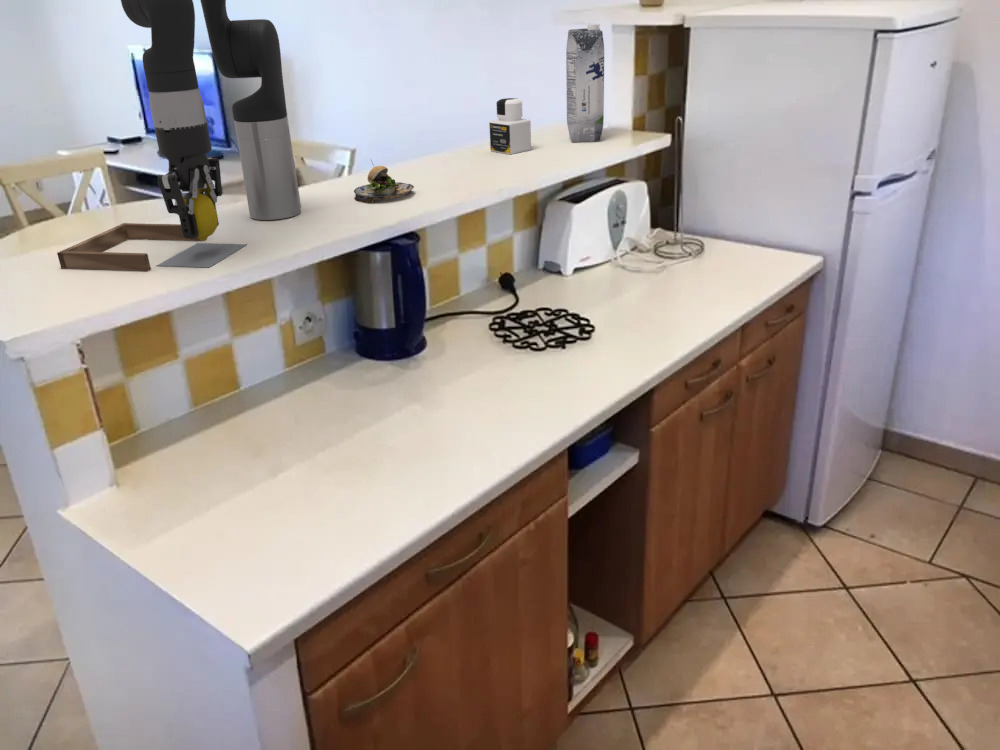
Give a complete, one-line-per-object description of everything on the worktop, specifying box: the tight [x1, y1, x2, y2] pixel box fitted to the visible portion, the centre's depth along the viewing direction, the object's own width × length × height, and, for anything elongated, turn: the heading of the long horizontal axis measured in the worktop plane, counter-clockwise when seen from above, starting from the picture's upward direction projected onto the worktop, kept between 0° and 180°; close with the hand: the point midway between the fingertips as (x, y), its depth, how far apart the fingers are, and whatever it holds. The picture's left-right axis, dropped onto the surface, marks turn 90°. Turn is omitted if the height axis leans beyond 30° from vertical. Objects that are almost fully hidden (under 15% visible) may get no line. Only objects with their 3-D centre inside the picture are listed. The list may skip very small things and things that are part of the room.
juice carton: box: [565, 23, 605, 143], centre depth 208 cm, size 9×10×27 cm
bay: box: [56, 222, 202, 272], centre depth 137 cm, size 17×15×2 cm
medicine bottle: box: [488, 97, 532, 155], centre depth 201 cm, size 7×7×12 cm
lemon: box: [184, 192, 219, 242], centre depth 132 cm, size 6×6×8 cm
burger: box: [353, 159, 415, 205], centre depth 165 cm, size 12×12×8 cm
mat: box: [155, 242, 247, 269], centre depth 135 cm, size 12×9×1 cm
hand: (201, 231), depth 133 cm, fingers closed on lemon, 5 cm apart
